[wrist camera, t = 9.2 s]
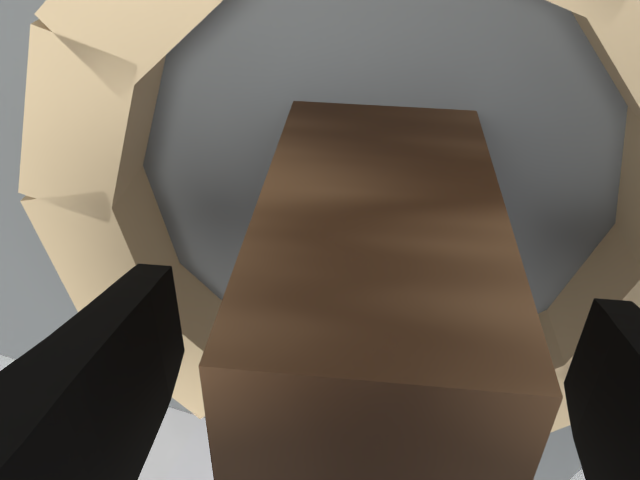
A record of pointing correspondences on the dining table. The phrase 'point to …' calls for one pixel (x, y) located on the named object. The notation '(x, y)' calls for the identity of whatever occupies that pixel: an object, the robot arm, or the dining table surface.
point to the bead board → (265, 131)
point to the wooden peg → (378, 311)
